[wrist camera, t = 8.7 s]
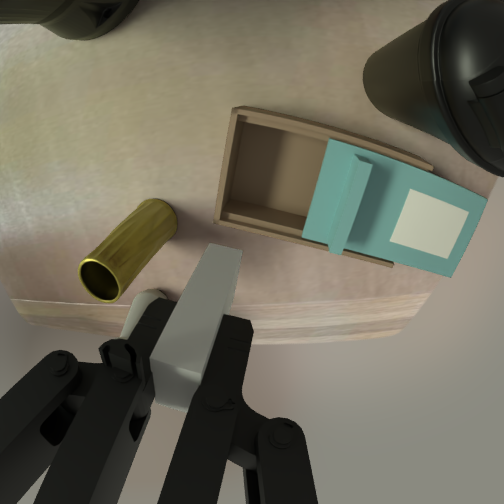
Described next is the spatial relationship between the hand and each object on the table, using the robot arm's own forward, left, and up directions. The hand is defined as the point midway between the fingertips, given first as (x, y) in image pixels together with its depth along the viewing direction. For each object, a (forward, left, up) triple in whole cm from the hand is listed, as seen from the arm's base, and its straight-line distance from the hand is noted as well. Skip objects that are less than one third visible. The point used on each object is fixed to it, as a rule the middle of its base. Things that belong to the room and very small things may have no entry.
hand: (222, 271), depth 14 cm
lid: (0, +15, -17) cm, 23 cm away
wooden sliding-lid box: (0, +6, -22) cm, 23 cm away
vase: (+10, -13, -22) cm, 27 cm away
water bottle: (-13, +12, -22) cm, 28 cm away
